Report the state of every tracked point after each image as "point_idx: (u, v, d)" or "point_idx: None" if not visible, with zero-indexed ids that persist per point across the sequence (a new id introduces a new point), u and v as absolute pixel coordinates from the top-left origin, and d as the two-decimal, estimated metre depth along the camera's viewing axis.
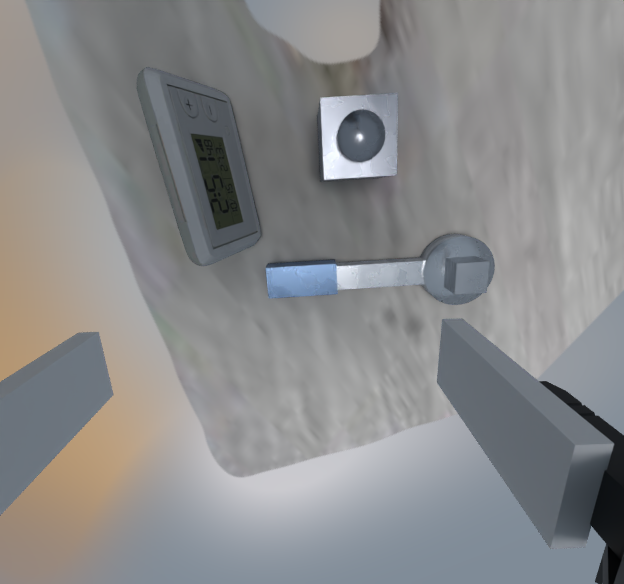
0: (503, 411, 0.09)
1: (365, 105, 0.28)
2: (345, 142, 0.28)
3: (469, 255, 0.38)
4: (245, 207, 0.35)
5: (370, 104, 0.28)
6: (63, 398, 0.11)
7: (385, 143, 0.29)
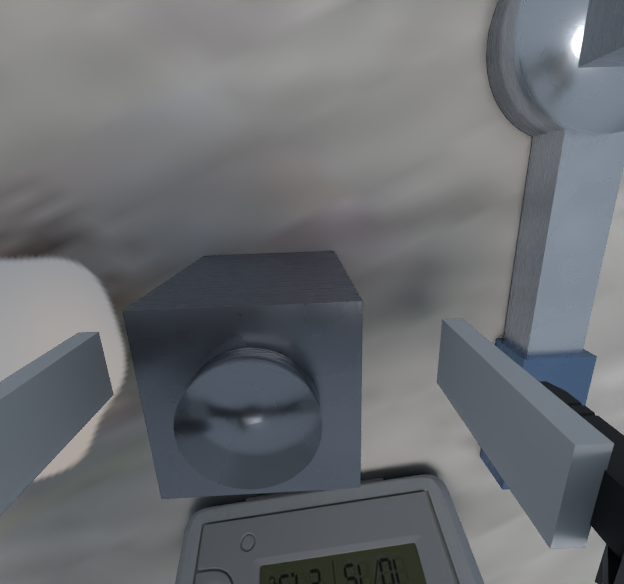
0: (503, 411, 0.09)
1: (167, 397, 0.10)
2: (268, 469, 0.10)
3: None
4: (384, 525, 0.18)
5: (162, 384, 0.10)
6: (63, 398, 0.11)
7: (267, 339, 0.09)
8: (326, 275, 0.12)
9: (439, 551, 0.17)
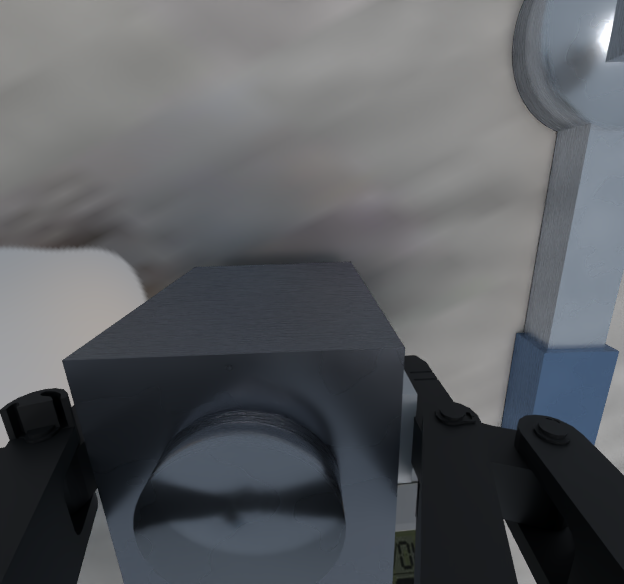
0: None
1: (131, 474, 0.07)
2: (269, 581, 0.07)
3: None
4: (403, 510, 0.19)
5: (123, 457, 0.07)
6: None
7: (268, 399, 0.07)
8: (346, 299, 0.09)
9: None
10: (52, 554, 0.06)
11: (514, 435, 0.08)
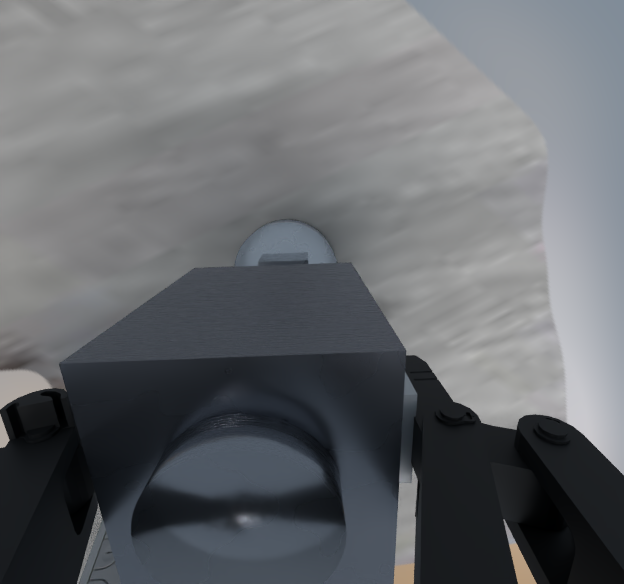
0: None
1: (129, 478, 0.07)
2: None
3: None
4: None
5: (121, 462, 0.07)
6: None
7: (268, 402, 0.07)
8: (347, 300, 0.09)
9: None
10: (52, 554, 0.06)
11: (514, 435, 0.08)
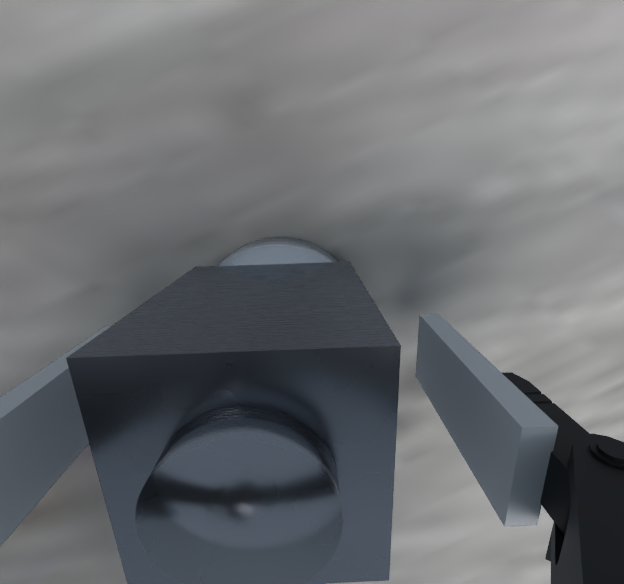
0: (468, 400, 0.09)
1: (132, 469, 0.07)
2: (268, 573, 0.07)
3: None
4: None
5: (125, 453, 0.07)
6: None
7: (267, 396, 0.07)
8: (344, 298, 0.09)
9: None
10: None
11: None
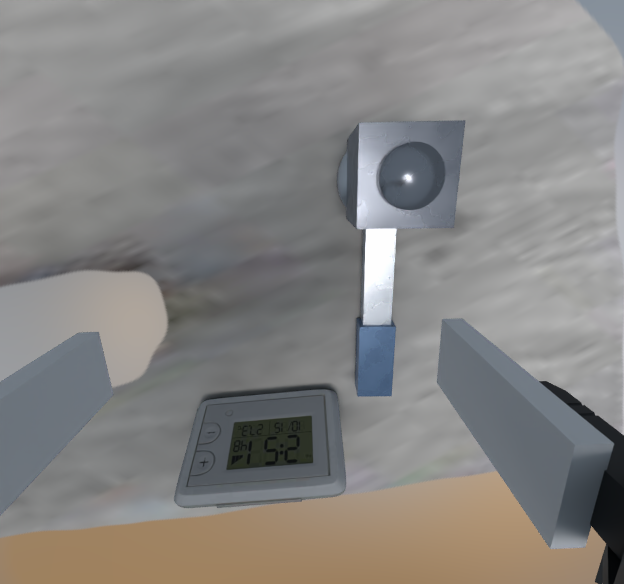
0: (503, 411, 0.09)
1: (370, 169, 0.21)
2: (418, 199, 0.21)
3: None
4: (298, 408, 0.36)
5: (369, 162, 0.21)
6: (63, 398, 0.11)
7: (420, 139, 0.21)
8: None
9: (322, 418, 0.34)
10: None
11: None
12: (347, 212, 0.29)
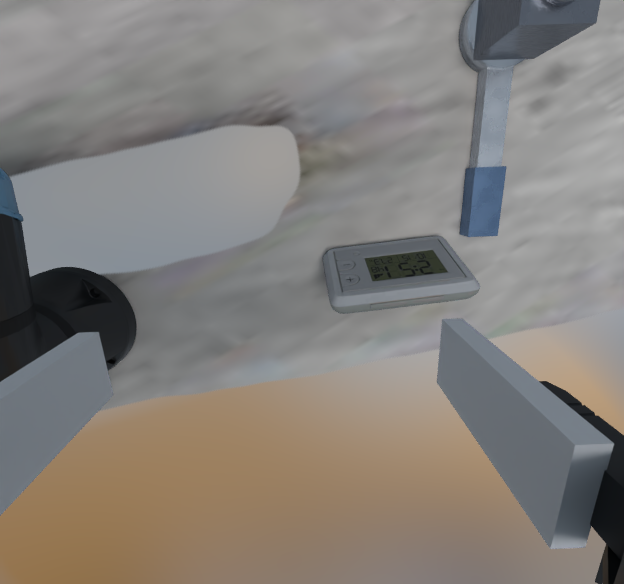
0: (503, 411, 0.09)
1: None
2: None
3: None
4: (418, 246, 0.41)
5: None
6: (63, 398, 0.11)
7: None
8: None
9: (443, 250, 0.40)
10: None
11: None
12: (478, 49, 0.34)
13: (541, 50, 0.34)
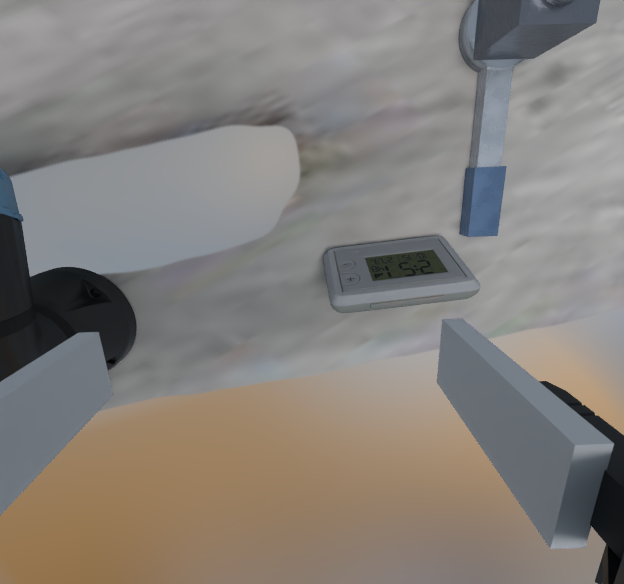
0: (503, 411, 0.09)
1: None
2: None
3: None
4: (419, 246, 0.41)
5: None
6: (63, 398, 0.11)
7: None
8: None
9: (443, 250, 0.40)
10: None
11: None
12: (478, 49, 0.34)
13: (541, 50, 0.34)
